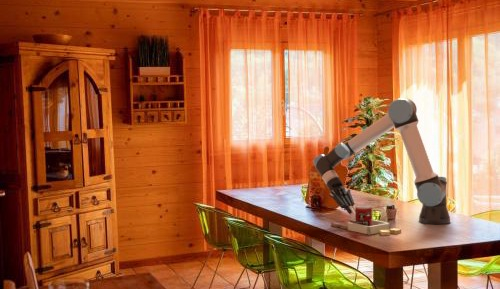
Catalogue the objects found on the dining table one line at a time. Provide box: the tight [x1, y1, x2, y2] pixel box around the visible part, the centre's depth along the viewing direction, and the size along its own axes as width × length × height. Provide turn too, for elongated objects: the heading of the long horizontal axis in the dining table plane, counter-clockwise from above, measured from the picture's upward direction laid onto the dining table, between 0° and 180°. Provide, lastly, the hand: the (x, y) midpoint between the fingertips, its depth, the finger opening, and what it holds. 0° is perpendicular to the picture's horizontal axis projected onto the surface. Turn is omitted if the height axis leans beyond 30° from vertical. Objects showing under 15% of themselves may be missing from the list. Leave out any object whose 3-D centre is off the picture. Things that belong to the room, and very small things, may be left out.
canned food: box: [354, 204, 373, 226], centre depth 291 cm, size 8×8×11 cm
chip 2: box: [389, 227, 402, 235], centre depth 281 cm, size 4×4×2 cm
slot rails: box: [330, 219, 356, 231], centre depth 300 cm, size 12×14×2 cm
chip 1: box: [379, 230, 391, 236], centre depth 279 cm, size 4×4×2 cm
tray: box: [347, 219, 392, 235], centre depth 288 cm, size 14×14×4 cm
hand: (355, 218), depth 295 cm, fingers closed
